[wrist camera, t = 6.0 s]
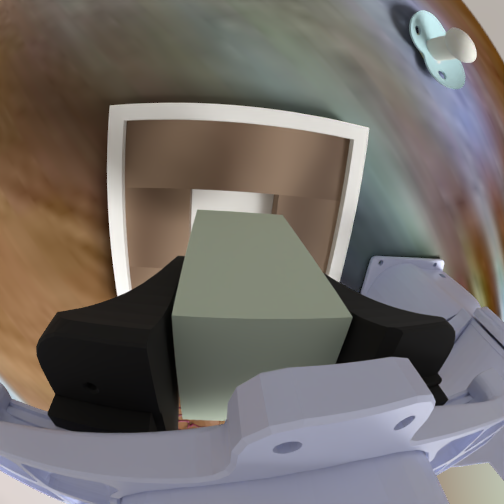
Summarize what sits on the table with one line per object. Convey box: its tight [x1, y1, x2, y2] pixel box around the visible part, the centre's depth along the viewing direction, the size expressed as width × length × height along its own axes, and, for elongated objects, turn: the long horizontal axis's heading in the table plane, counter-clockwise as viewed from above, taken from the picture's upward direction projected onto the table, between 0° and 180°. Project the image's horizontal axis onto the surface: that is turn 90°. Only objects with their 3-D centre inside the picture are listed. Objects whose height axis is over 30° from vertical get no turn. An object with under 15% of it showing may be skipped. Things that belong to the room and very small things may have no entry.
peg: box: [172, 210, 353, 421], centre depth 10 cm, size 4×4×8 cm
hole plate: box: [125, 120, 350, 289], centre depth 19 cm, size 14×14×2 cm
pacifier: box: [409, 11, 476, 89], centre depth 13 cm, size 7×6×6 cm
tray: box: [107, 103, 369, 296], centre depth 19 cm, size 16×16×3 cm
